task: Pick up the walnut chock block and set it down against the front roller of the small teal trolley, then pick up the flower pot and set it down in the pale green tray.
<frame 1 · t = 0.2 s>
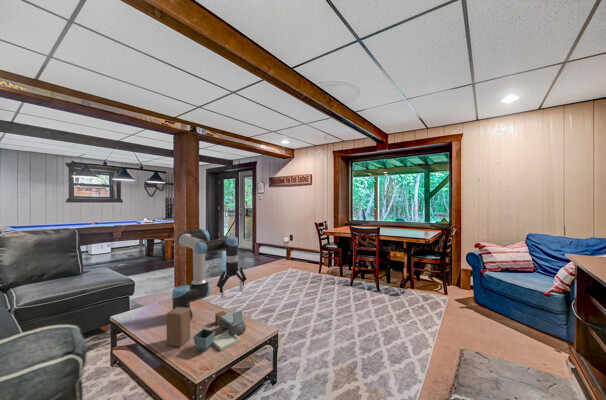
hand: (232, 294, 164), 27 cm above the table, fingers open, 13 cm apart
wooden block: (178, 342, 159), on the table
trolley: (232, 330, 172), on the table
chock: (220, 322, 182), on the table
tray: (225, 342, 159), on the table
flower pot: (204, 348, 152), on the table
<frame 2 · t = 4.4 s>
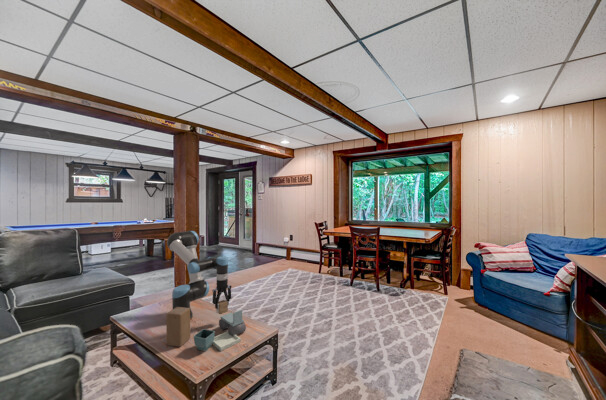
hand: (222, 311, 181), 9 cm above the table, fingers closed on chock, 6 cm apart
chock: (222, 311, 181), point 8 cm above the table, touching gripper
everything else where it was.
when the fingers open (0 cm above the table, at t = 7.1 s): chock stays where it is, on the table.
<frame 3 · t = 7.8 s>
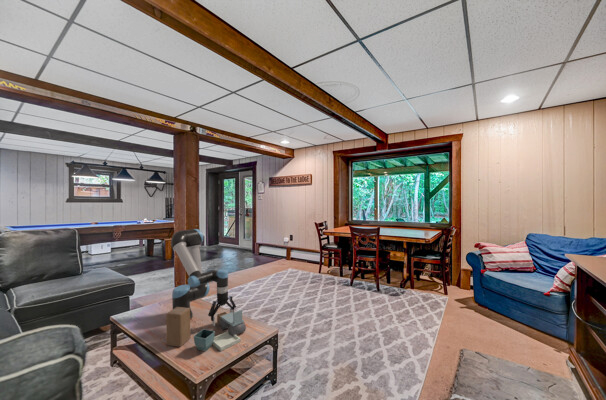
hand: (222, 321, 181), 2 cm above the table, fingers open, 13 cm apart
chock: (222, 324, 181), on the table
everything else where it was.
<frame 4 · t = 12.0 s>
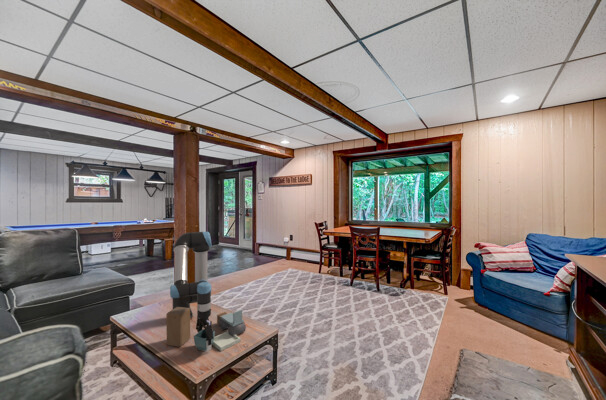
hand: (204, 346, 152), 1 cm above the table, fingers closed on flower pot, 10 cm apart
flower pot: (204, 348, 152), on the table, touching gripper
everything else where it was.
when the fingers open (4 cm above the table, at t = 17.4 s): flower pot drops 2 cm, resting on tray.
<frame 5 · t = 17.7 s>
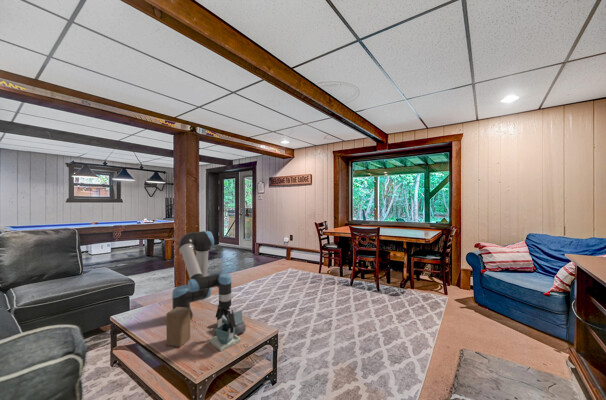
hand: (225, 333, 159), 5 cm above the table, fingers open, 13 cm apart
flower pot: (225, 341, 158), point 1 cm above the table, touching tray
everything else where it was.
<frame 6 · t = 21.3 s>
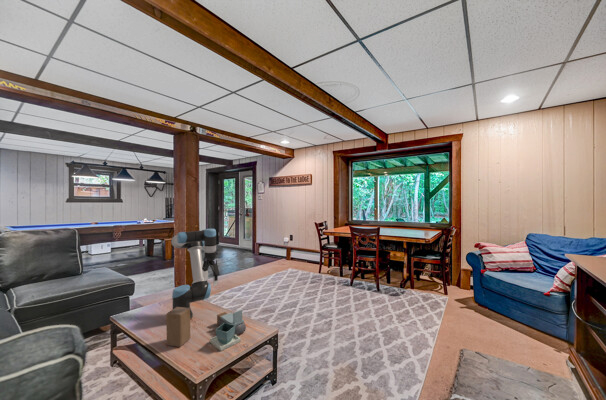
hand: (210, 282, 173), 32 cm above the table, fingers open, 13 cm apart
nothing on the table moved.
at the end: chock 0.6 cm from the target spot, on the table; flower pot inside the target area on the tray (1.1 cm from its centre), point 0.6 cm above the tray's base; flower pot tilted 0° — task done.
